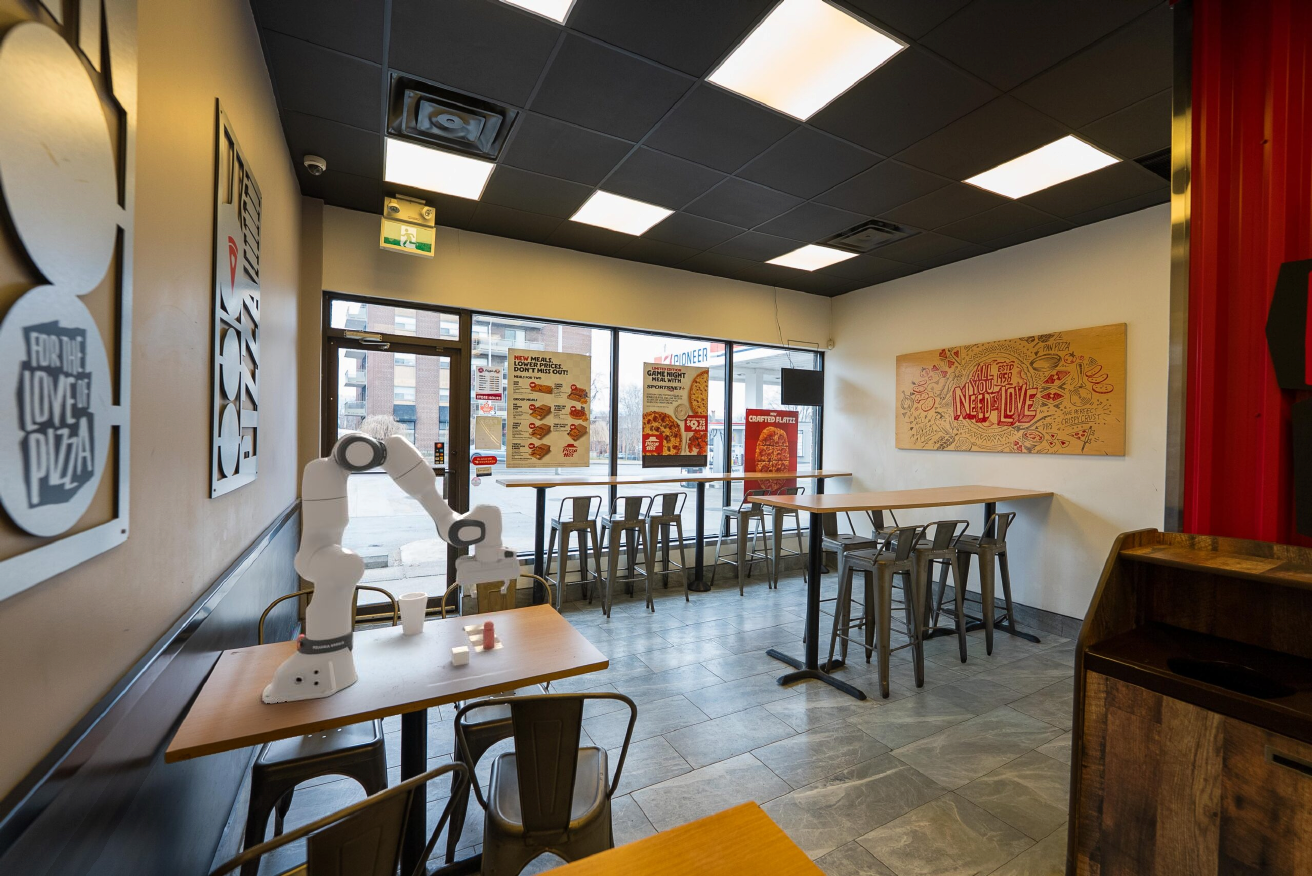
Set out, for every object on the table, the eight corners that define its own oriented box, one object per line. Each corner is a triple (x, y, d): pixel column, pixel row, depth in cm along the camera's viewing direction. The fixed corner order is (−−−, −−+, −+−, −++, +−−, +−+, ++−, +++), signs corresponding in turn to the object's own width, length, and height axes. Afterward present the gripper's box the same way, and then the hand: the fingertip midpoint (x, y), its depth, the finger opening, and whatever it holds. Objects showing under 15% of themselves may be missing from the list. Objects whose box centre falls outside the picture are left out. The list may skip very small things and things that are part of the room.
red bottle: (484, 649, 179) (484, 623, 179) (482, 646, 182) (482, 620, 182) (495, 648, 180) (495, 621, 180) (493, 644, 183) (493, 618, 183)
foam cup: (418, 625, 204) (418, 590, 204) (432, 630, 198) (432, 594, 198) (393, 633, 196) (393, 596, 196) (407, 638, 190) (407, 601, 190)
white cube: (453, 668, 166) (453, 653, 166) (451, 662, 170) (451, 648, 170) (468, 665, 168) (468, 650, 168) (466, 659, 172) (466, 645, 172)
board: (476, 654, 176) (476, 652, 176) (463, 628, 201) (463, 626, 201) (504, 649, 181) (504, 647, 181) (488, 624, 205) (488, 622, 205)
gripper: (456, 558, 173) (457, 602, 173) (521, 551, 183) (521, 593, 183) (454, 554, 179) (454, 596, 179) (517, 548, 188) (517, 588, 189)
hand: (489, 594), depth 181 cm, fingers open, 8 cm apart
